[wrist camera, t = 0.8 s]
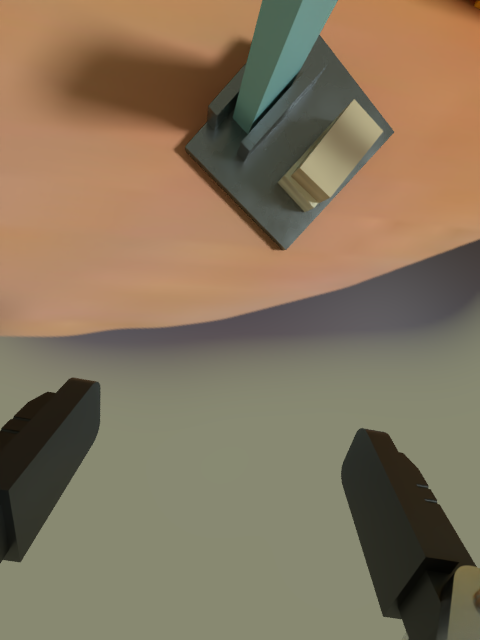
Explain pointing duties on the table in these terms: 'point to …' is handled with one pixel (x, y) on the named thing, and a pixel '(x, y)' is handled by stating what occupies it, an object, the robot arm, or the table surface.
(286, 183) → the block
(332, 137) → the offcut top
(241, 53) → the table surface
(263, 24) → the teal rectangular slab
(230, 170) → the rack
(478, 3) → the bracket
